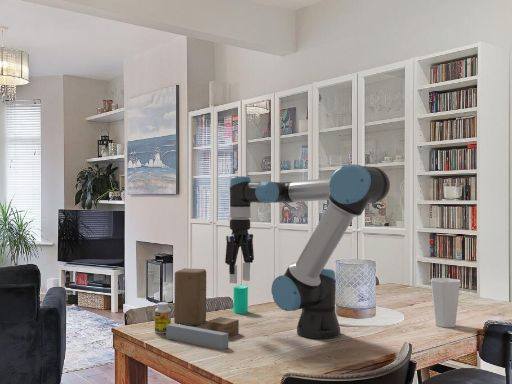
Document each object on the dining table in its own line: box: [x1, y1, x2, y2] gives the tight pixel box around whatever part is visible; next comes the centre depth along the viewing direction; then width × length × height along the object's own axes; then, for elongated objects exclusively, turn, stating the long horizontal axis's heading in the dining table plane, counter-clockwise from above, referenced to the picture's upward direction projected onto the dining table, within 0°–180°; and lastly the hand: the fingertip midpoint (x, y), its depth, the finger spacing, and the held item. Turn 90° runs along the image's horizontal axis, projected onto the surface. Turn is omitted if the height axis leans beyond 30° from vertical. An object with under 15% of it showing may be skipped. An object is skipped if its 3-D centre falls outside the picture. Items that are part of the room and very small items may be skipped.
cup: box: [429, 277, 461, 328], centre depth 205 cm, size 11×10×17 cm
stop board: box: [165, 322, 229, 350], centre depth 178 cm, size 24×3×4 cm, turn 56°
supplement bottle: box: [154, 301, 172, 335], centre depth 192 cm, size 6×6×10 cm
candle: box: [232, 285, 249, 314], centre depth 228 cm, size 6×6×12 cm
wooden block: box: [173, 268, 207, 326], centre depth 208 cm, size 10×10×20 cm
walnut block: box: [206, 316, 240, 338], centre depth 190 cm, size 8×8×5 cm
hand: (239, 281), depth 198 cm, fingers open, 7 cm apart
